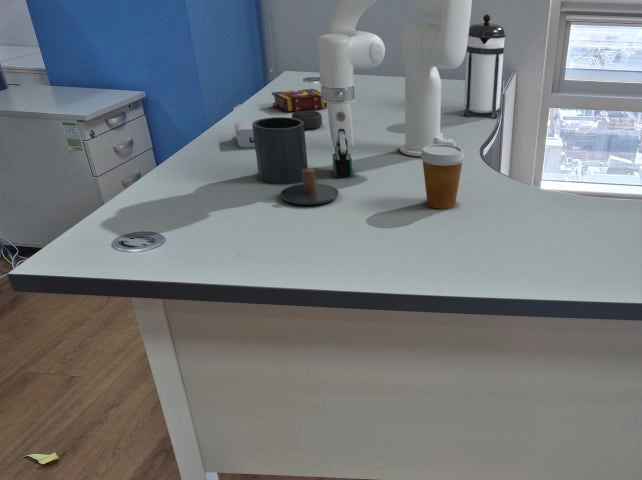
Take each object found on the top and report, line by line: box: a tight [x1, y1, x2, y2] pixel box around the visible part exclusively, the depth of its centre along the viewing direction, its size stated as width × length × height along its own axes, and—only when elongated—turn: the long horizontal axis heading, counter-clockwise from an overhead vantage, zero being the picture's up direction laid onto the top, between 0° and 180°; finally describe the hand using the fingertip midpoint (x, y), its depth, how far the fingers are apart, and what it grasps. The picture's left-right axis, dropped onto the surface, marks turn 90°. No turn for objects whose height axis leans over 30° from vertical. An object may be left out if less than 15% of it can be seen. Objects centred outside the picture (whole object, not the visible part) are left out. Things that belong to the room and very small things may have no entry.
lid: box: [280, 167, 339, 206], centre depth 144 cm, size 13×13×6 cm
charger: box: [234, 120, 255, 148], centre depth 183 cm, size 5×9×15 cm
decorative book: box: [270, 88, 328, 112], centre depth 219 cm, size 11×16×5 cm
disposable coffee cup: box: [420, 144, 466, 210], centre depth 142 cm, size 10×10×12 cm
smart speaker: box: [291, 109, 323, 130], centre depth 198 cm, size 9×9×4 cm
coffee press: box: [463, 14, 507, 119], centre depth 214 cm, size 17×16×30 cm
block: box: [331, 152, 353, 178], centre depth 160 cm, size 4×4×4 cm
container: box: [252, 116, 309, 185], centre depth 155 cm, size 12×12×12 cm
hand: (342, 171), depth 161 cm, fingers closed on block, 4 cm apart
